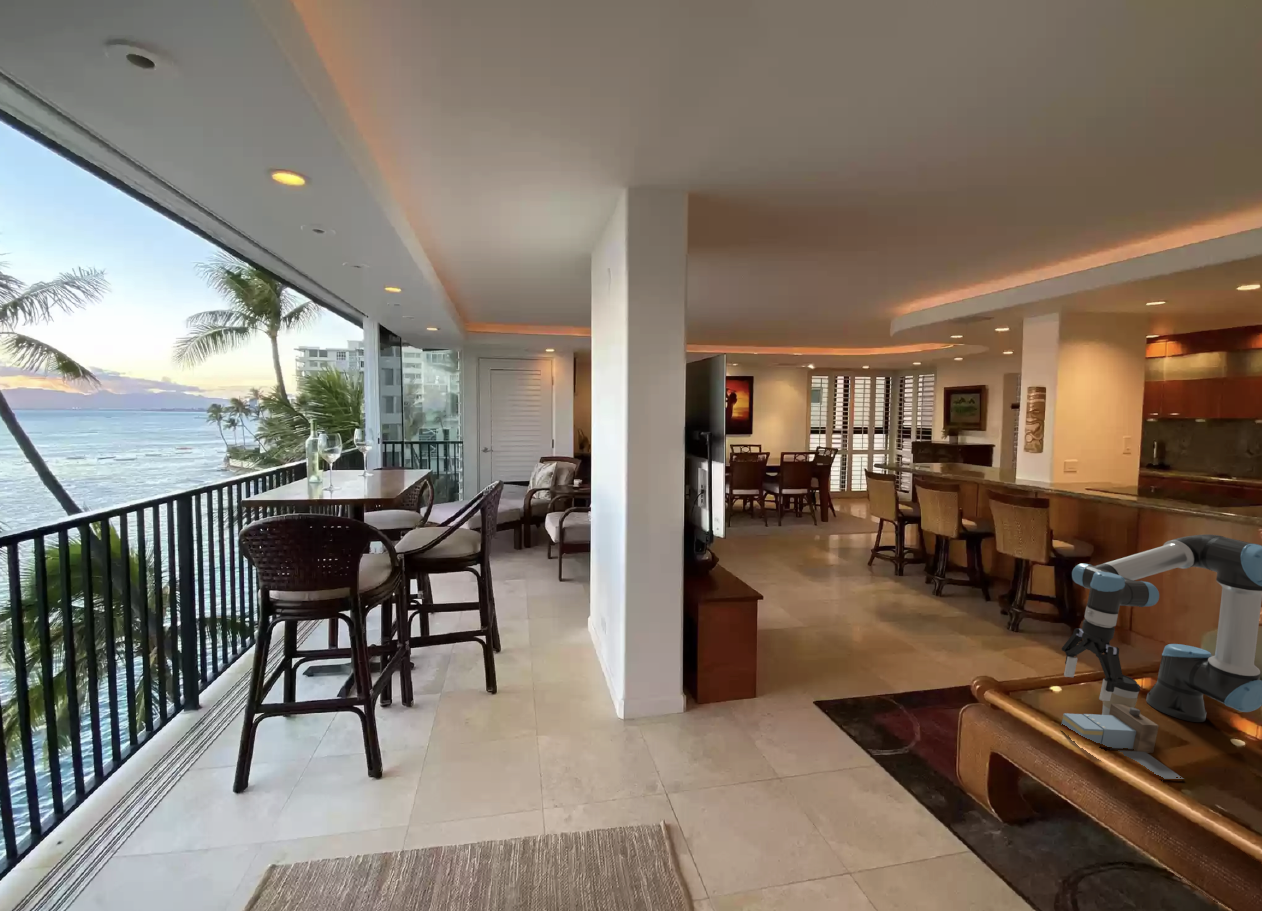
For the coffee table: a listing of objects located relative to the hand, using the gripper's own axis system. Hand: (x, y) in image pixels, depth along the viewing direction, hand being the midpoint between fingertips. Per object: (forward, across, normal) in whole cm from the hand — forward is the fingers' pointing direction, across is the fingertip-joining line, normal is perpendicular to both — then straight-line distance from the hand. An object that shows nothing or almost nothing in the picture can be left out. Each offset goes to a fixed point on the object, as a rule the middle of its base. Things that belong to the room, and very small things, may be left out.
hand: (1085, 688), depth 175 cm
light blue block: (+17, +1, +1) cm, 17 cm away
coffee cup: (+16, -11, +23) cm, 30 cm away
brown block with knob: (+16, +1, +16) cm, 23 cm away
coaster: (+16, +13, +10) cm, 23 cm away
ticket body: (+16, +1, +11) cm, 20 cm away
